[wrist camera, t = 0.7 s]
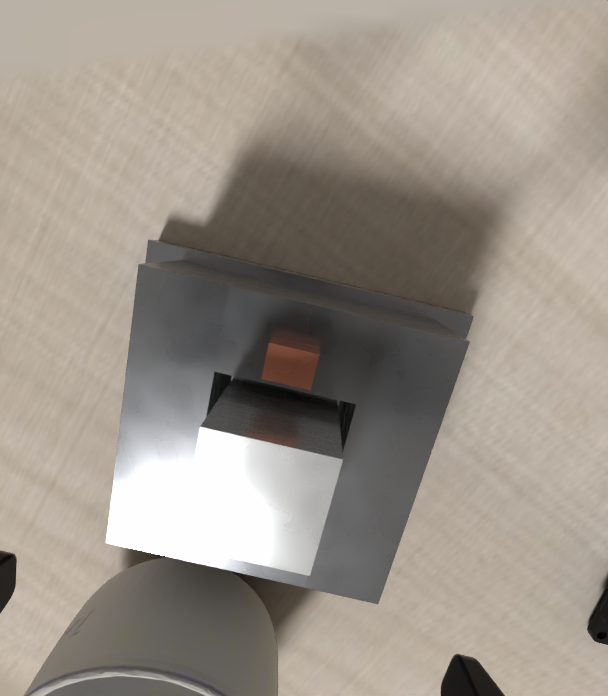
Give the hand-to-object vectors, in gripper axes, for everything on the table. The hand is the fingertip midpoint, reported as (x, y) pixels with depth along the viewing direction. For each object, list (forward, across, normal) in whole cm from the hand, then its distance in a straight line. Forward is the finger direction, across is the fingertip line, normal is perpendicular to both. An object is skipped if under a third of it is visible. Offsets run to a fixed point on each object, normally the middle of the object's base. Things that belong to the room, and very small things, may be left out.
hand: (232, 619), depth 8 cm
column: (+10, 0, 0) cm, 11 cm away
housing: (+12, 0, 0) cm, 12 cm away
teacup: (+12, +2, +15) cm, 19 cm away
